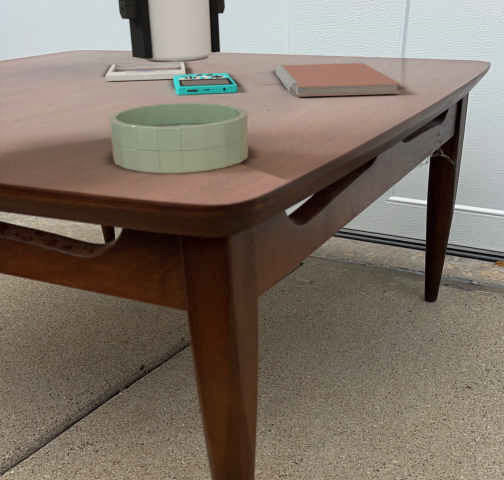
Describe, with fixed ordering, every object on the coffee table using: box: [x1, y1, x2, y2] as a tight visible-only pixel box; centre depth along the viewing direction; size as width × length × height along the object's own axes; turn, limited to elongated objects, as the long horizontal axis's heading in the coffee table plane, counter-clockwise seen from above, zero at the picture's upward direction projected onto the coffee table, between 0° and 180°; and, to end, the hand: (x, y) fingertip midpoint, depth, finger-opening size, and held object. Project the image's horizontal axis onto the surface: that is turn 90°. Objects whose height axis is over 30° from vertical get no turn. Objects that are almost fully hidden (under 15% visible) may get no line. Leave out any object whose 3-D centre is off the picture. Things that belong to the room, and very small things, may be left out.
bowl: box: [108, 102, 249, 174], centre depth 69 cm, size 13×13×5 cm
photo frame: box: [105, 62, 187, 82], centre depth 134 cm, size 15×1×18 cm
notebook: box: [274, 62, 401, 98], centre depth 118 cm, size 27×17×2 cm, turn 4°
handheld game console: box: [172, 72, 238, 96], centre depth 118 cm, size 10×16×1 cm, turn 8°
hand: (176, 54), depth 65 cm, fingers closed on can, 6 cm apart
